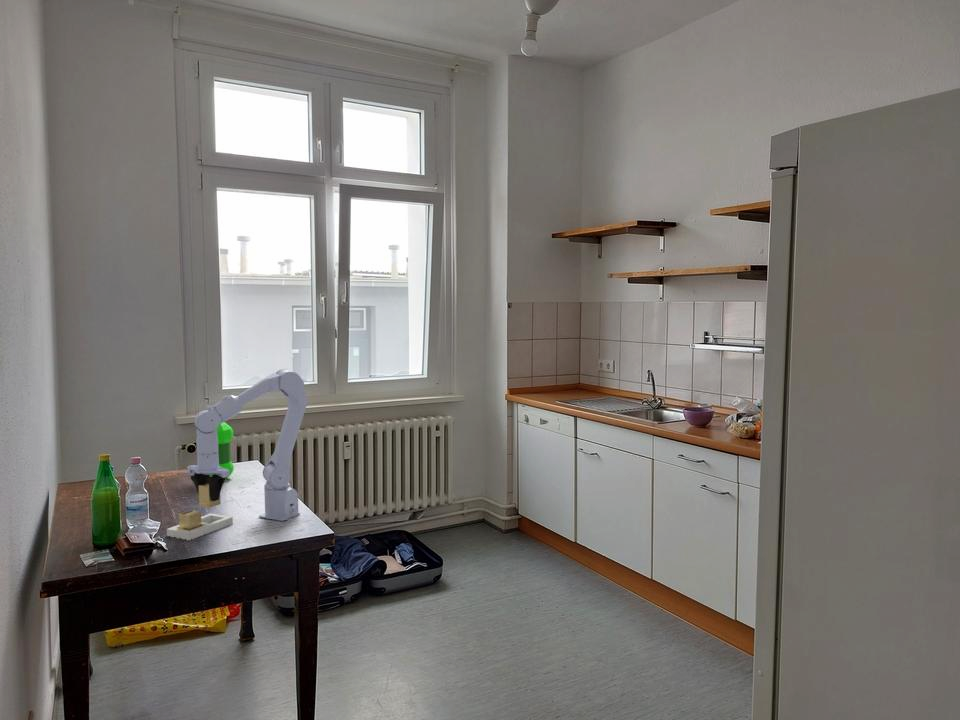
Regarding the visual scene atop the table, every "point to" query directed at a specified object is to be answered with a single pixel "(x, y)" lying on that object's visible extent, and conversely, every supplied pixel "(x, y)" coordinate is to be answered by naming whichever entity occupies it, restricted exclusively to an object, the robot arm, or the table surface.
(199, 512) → the seated billet
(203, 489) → the brass billet
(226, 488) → the table surface
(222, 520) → the tray
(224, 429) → the plastic bottle
